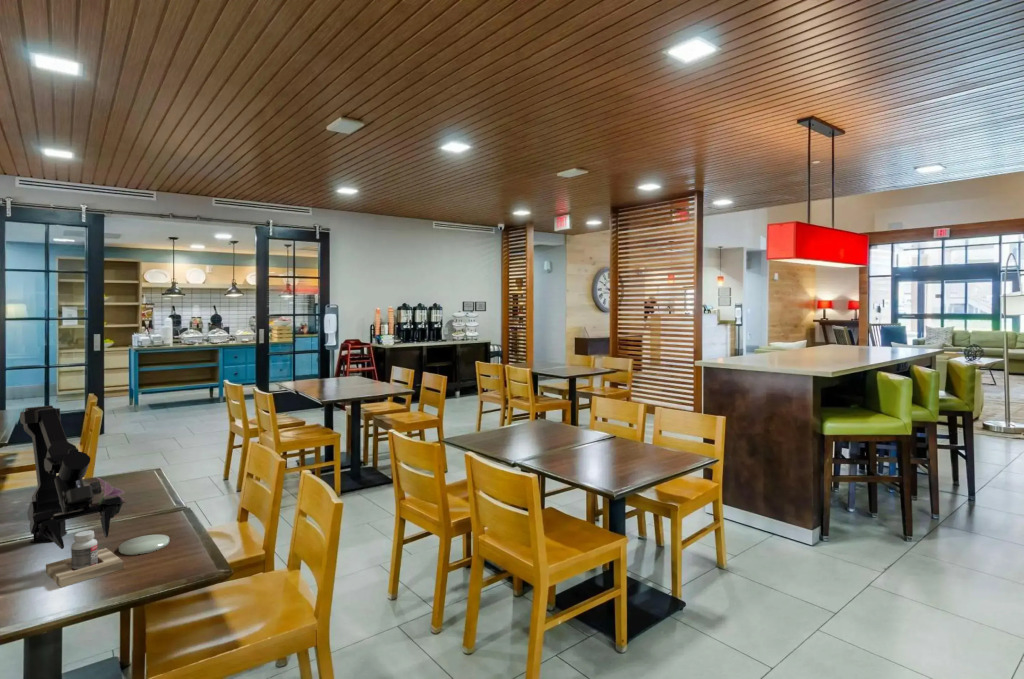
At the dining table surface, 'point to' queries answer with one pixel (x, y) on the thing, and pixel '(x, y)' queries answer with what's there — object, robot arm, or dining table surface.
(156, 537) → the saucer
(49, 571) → the socket block
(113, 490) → the lily
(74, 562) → the pill bottle
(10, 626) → the dining table surface
